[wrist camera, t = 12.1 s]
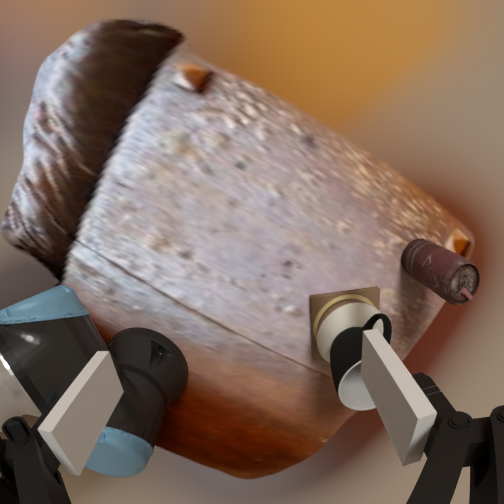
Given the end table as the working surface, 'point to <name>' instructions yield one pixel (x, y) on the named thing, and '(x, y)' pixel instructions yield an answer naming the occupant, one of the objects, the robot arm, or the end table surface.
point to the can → (441, 271)
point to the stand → (340, 316)
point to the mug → (353, 363)
